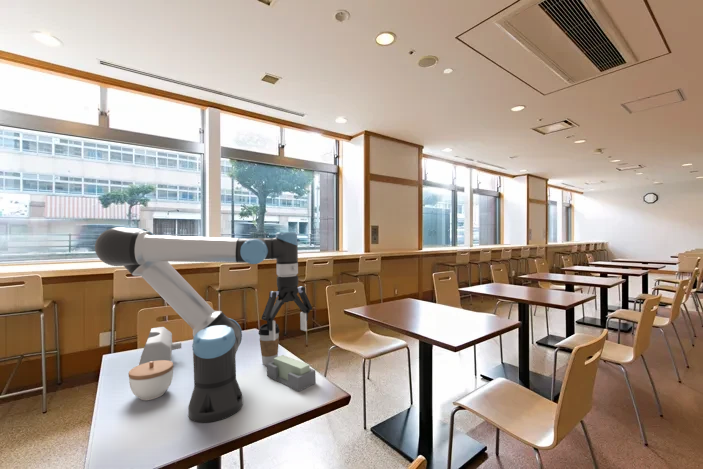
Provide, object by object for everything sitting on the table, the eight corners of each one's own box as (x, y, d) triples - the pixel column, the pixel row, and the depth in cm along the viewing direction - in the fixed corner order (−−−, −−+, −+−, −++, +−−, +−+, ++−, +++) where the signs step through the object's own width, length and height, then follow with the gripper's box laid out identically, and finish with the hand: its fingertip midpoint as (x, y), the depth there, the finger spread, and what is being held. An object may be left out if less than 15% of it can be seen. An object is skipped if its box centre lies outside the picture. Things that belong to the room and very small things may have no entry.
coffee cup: (283, 358, 135) (282, 322, 135) (276, 367, 126) (275, 328, 126) (263, 358, 136) (262, 322, 136) (255, 366, 127) (254, 328, 127)
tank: (181, 370, 126) (180, 338, 126) (132, 380, 119) (131, 346, 119) (181, 350, 148) (180, 323, 148) (140, 357, 141) (139, 329, 141)
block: (274, 374, 118) (273, 358, 118) (283, 370, 122) (282, 354, 121) (301, 386, 109) (300, 368, 109) (310, 381, 112) (309, 364, 112)
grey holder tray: (298, 391, 106) (298, 377, 106) (266, 375, 119) (266, 363, 119) (315, 383, 112) (315, 370, 112) (283, 369, 124) (283, 357, 124)
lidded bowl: (179, 394, 107) (178, 360, 107) (134, 409, 98) (133, 373, 98) (167, 382, 116) (166, 351, 116) (125, 395, 107) (124, 362, 107)
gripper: (262, 280, 103) (264, 346, 103) (320, 272, 122) (321, 328, 122) (250, 278, 108) (251, 341, 108) (307, 271, 127) (308, 325, 127)
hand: (288, 334), depth 115 cm, fingers open, 13 cm apart
